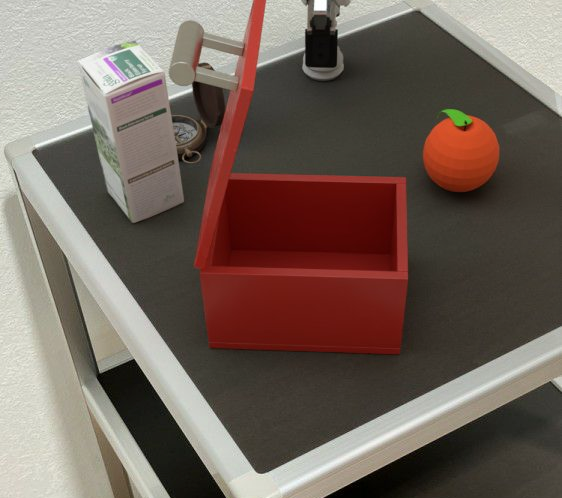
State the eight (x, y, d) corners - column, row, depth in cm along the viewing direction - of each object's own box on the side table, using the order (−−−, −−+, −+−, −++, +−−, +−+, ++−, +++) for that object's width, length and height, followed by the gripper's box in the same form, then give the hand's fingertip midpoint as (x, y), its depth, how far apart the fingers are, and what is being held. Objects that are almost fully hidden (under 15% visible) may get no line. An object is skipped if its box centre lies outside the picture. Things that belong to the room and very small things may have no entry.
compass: (135, 135, 97) (124, 72, 92) (206, 111, 99) (200, 48, 94) (166, 180, 93) (156, 117, 87) (240, 154, 95) (235, 91, 89)
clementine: (400, 166, 93) (406, 104, 88) (462, 145, 95) (471, 83, 89) (444, 216, 89) (452, 154, 83) (508, 193, 90) (520, 131, 85)
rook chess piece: (315, 87, 102) (315, 18, 95) (294, 66, 104) (293, -3, 98) (351, 74, 103) (354, 5, 97) (330, 54, 105) (331, -15, 99)
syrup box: (186, 202, 91) (169, 68, 79) (130, 226, 89) (104, 92, 78) (158, 170, 94) (137, 35, 83) (103, 192, 92) (74, 58, 81)
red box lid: (267, -10, 67) (191, -31, 66) (253, 91, 60) (167, 68, 59) (220, 169, 80) (155, 153, 79) (204, 269, 72) (132, 253, 71)
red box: (398, 254, 86) (406, 176, 79) (399, 355, 79) (408, 279, 72) (223, 249, 87) (216, 172, 80) (209, 348, 79) (199, 272, 73)
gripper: (365, -85, 81) (357, 90, 95) (367, -173, 92) (360, -5, 106) (276, -86, 82) (281, 89, 95) (289, -174, 93) (291, -6, 106)
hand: (322, 39), depth 101 cm, fingers open, 8 cm apart
